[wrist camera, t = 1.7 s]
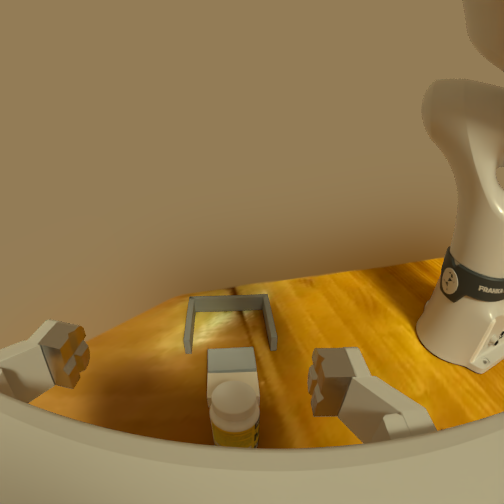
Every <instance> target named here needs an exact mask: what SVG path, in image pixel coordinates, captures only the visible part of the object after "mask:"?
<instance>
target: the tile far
mask: <svg viewBox="0 0 504 504" xmlns="http://www.w3.org/2000/svg"><path fill="white" fill-rule="evenodd" d="M233 372H256V362H255V356H254V349H253V347H242V348H223V349H208V373H233Z"/></svg>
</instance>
